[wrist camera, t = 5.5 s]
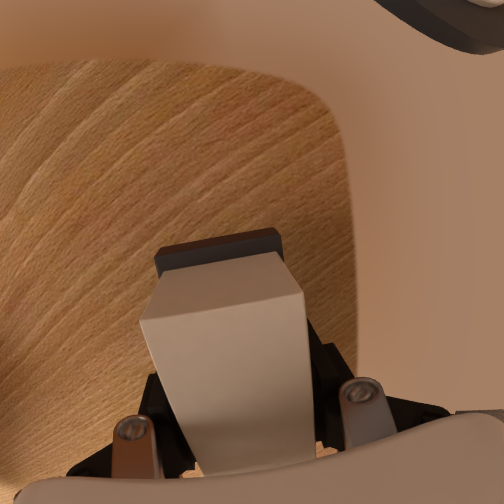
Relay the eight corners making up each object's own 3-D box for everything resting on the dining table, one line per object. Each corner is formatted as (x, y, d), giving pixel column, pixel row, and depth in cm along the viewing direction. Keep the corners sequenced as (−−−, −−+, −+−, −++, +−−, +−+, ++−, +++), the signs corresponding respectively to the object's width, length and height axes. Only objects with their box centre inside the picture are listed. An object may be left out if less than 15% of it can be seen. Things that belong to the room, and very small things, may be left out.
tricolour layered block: (159, 247, 11) (122, 301, 6) (274, 226, 11) (311, 268, 6) (219, 442, 13) (222, 518, 9) (299, 428, 14) (322, 501, 9)
